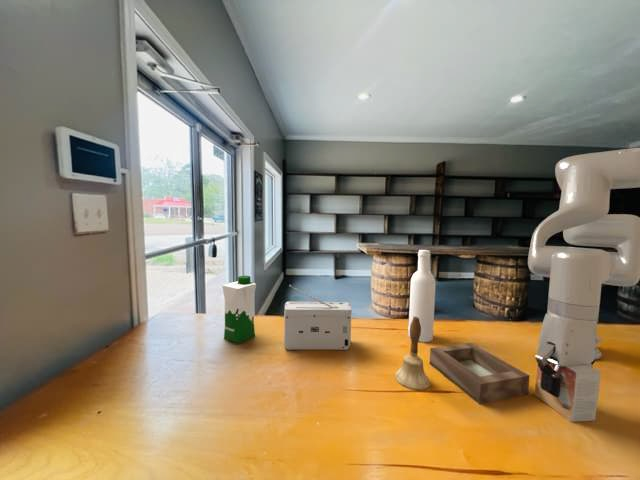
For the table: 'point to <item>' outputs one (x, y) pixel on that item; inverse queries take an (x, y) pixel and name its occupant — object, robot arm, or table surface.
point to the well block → (479, 372)
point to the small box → (573, 392)
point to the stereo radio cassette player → (317, 325)
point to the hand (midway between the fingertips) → (564, 389)
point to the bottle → (423, 297)
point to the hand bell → (413, 363)
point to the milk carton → (239, 310)
